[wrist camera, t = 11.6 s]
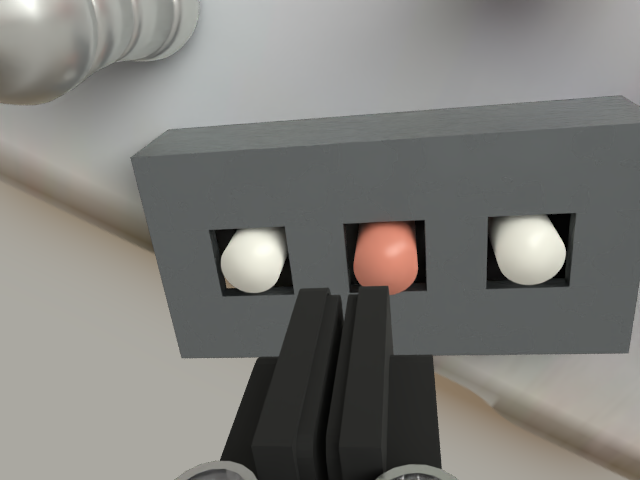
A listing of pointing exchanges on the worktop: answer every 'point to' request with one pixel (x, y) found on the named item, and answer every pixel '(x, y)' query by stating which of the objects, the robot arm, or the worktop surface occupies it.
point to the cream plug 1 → (255, 258)
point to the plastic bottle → (82, 41)
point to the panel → (406, 205)
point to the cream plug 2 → (526, 247)
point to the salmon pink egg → (386, 255)
